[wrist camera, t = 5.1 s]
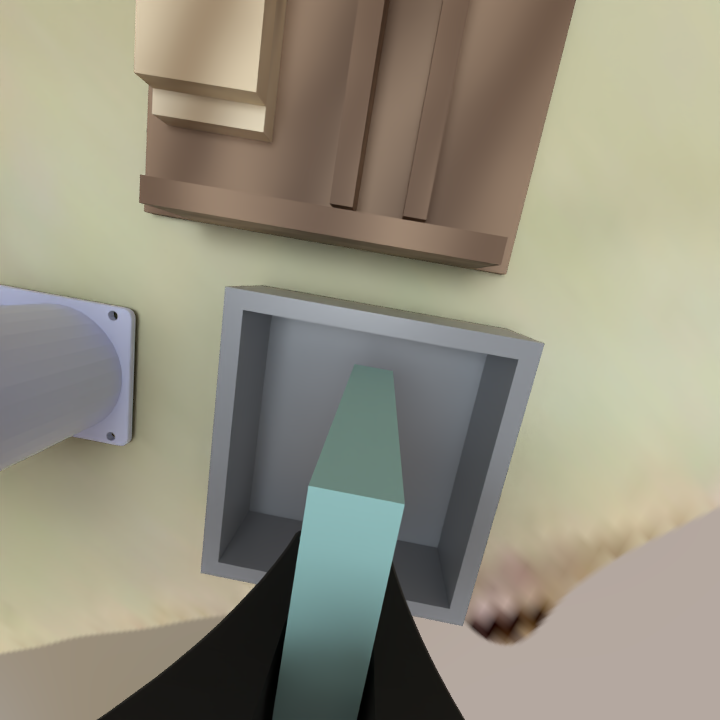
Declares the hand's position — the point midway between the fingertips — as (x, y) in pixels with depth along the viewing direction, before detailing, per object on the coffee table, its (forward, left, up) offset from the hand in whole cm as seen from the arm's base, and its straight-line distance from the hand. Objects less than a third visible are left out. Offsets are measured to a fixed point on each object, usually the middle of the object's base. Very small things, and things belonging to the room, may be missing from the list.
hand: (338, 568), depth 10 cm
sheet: (0, 0, -4) cm, 4 cm away
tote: (0, 0, -10) cm, 10 cm away
